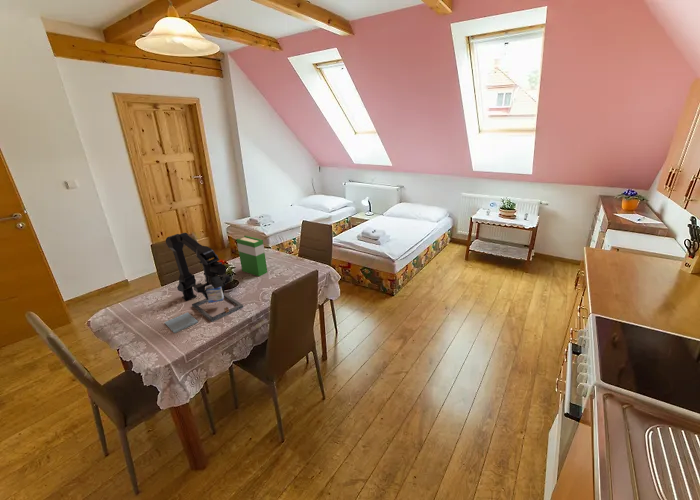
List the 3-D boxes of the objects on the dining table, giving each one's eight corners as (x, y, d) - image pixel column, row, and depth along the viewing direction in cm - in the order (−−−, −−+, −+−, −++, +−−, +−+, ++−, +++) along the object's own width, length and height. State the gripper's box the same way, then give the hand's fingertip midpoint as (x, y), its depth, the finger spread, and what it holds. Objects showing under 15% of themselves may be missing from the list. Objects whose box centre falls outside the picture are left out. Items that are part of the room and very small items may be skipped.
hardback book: (242, 270, 224) (236, 239, 215) (250, 266, 229) (245, 235, 220) (259, 276, 215) (254, 243, 206) (267, 272, 220) (262, 239, 211)
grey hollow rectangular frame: (192, 306, 182) (190, 301, 181) (222, 293, 194) (221, 288, 193) (211, 322, 167) (210, 316, 165) (243, 307, 179) (242, 301, 178)
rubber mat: (164, 323, 167) (164, 322, 167) (188, 313, 175) (187, 312, 175) (174, 333, 159) (174, 331, 159) (198, 322, 167) (197, 321, 167)
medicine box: (208, 303, 176) (205, 289, 173) (209, 299, 180) (206, 285, 177) (223, 300, 178) (220, 287, 174) (224, 297, 182) (221, 283, 178)
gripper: (199, 282, 161) (205, 308, 166) (233, 269, 173) (238, 294, 179) (190, 275, 168) (196, 301, 174) (223, 264, 180) (228, 288, 186)
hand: (215, 296), depth 178 cm, fingers closed on medicine box, 9 cm apart
